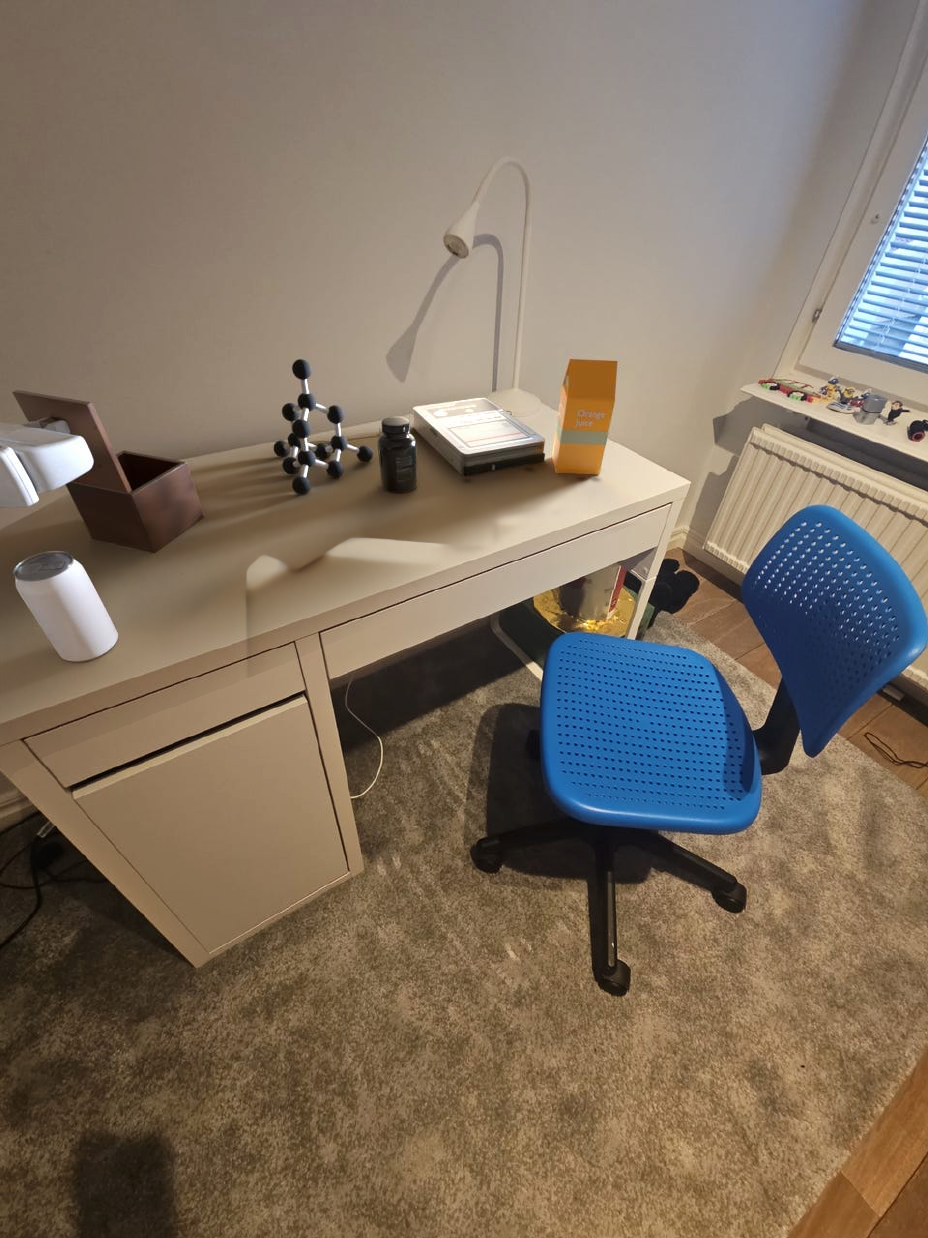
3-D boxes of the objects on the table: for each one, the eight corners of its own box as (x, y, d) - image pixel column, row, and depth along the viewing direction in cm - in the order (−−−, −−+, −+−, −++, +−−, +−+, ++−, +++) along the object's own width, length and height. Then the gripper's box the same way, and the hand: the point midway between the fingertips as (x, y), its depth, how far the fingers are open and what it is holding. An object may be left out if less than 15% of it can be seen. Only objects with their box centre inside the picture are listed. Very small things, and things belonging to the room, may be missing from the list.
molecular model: (377, 461, 108) (368, 353, 95) (302, 499, 95) (280, 381, 82) (314, 439, 115) (298, 336, 102) (237, 472, 102) (207, 359, 89)
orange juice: (599, 474, 106) (622, 367, 93) (555, 472, 106) (571, 365, 93) (593, 457, 112) (614, 354, 99) (551, 456, 112) (566, 352, 99)
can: (66, 632, 68) (17, 552, 60) (123, 623, 69) (83, 544, 61) (53, 668, 63) (-1, 587, 55) (115, 658, 65) (70, 577, 57)
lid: (17, 389, 69) (11, 391, 68) (92, 402, 67) (86, 404, 66) (64, 476, 77) (59, 479, 77) (132, 490, 75) (128, 493, 74)
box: (145, 504, 92) (123, 450, 86) (204, 517, 90) (186, 461, 83) (91, 538, 84) (63, 480, 77) (155, 553, 81) (131, 494, 75)
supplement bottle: (420, 478, 103) (418, 415, 95) (414, 495, 98) (412, 430, 90) (384, 475, 103) (380, 412, 95) (376, 492, 98) (371, 427, 90)
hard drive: (463, 476, 104) (464, 454, 101) (412, 426, 122) (411, 406, 119) (544, 461, 110) (547, 440, 107) (484, 416, 128) (485, 397, 125)
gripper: (-98, 479, 64) (9, 436, 74) (40, 510, 60) (133, 460, 70) (-135, 427, 60) (-16, 389, 70) (10, 455, 55) (113, 410, 65)
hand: (59, 424), depth 70 cm, fingers closed
